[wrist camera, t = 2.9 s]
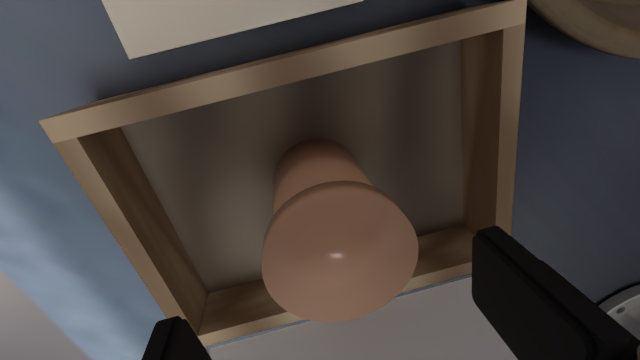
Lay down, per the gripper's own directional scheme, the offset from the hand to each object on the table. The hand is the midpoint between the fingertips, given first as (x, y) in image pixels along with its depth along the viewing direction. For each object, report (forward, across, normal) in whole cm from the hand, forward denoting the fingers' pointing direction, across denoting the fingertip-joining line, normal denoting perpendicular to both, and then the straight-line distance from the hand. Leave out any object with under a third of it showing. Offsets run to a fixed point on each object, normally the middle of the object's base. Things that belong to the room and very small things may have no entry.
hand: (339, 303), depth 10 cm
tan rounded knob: (+10, -1, +1) cm, 10 cm away
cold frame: (+11, -1, +1) cm, 11 cm away
